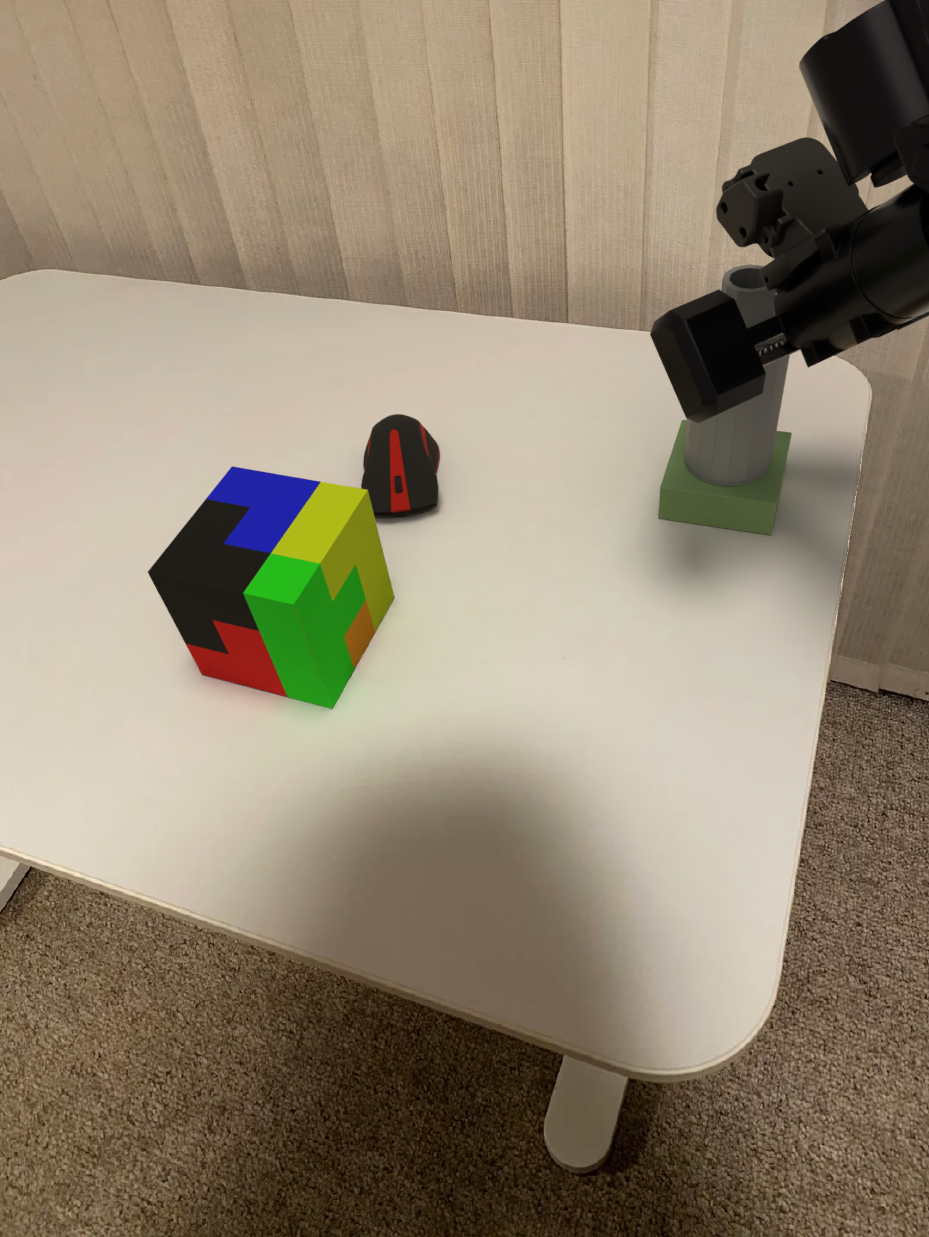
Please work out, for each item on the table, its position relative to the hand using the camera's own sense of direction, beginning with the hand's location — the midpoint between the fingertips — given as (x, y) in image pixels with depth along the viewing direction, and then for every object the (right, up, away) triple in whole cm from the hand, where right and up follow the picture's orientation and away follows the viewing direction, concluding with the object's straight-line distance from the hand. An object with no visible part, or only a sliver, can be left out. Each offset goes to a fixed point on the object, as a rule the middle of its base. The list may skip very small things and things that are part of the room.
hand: (729, 356), depth 61 cm
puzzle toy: (-29, -19, +3) cm, 34 cm away
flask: (+1, -6, +5) cm, 8 cm away
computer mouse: (-22, -6, +13) cm, 27 cm away
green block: (+2, -8, +8) cm, 11 cm away
